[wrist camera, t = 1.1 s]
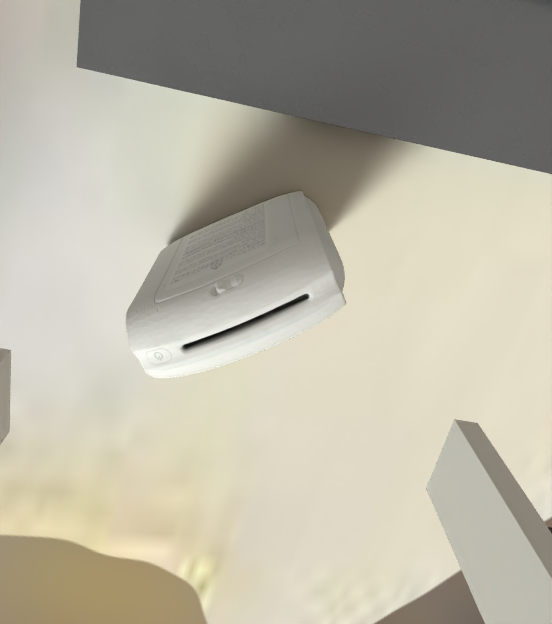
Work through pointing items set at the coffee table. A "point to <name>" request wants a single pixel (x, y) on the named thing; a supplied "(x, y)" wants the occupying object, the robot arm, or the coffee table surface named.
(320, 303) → the photo printer
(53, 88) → the coffee table surface
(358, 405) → the coffee table surface
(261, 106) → the rail
